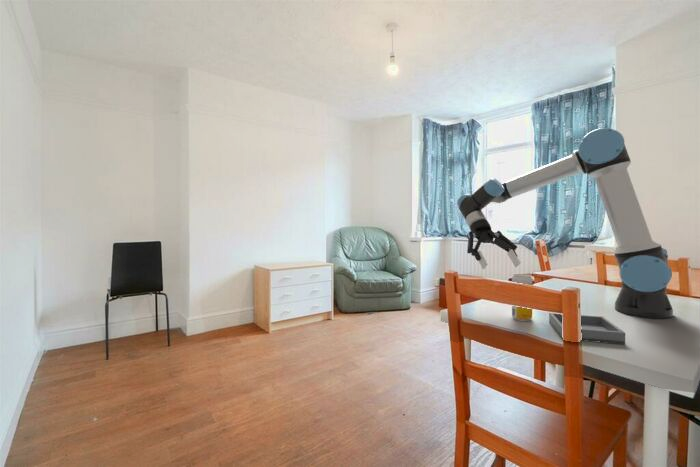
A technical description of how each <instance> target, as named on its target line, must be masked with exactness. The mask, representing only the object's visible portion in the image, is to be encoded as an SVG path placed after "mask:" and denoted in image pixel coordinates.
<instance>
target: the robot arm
mask: <svg viewBox="0 0 700 467" xmlns="http://www.w3.org/2000/svg"><path fill="white" fill-rule="evenodd" d="M631 163H632V161H631V158H630V156H629V153H628V149H627V147H626V144H625V137H624V135H623V134H622V133H621V132H619V131H618V130H615V129H613V128H609V127H602V128H601V127H600V128H597V129H594V130H592V131H590V132H588V133H586V135H584V136H583V138H581V140H580V142H579V144H578V149H576V150H574V151H573V152H572V153H571V154H570V155H569V156H566V157H563V158H561V159H558V160H556V161H553V162H551V163H549V164H546V165H544V166H541V167H539V168H536V169H534V170H532V171H529V172H526V173H524V174H521V175H519V176H517V177H514V178H511V179H509V180H506V181H504V182H502V183H501V181H499V180H498V179H496V178H493V177H492V178H490V179H489V180H487V181H485V182H484V184H482V185H481V186H480V187H479V188H477V190H476V191H475V192H473V193H472V194H470V193H465V194H464V195H461V196H459V198H458V199H457V201H456V202H457V207H458V209H459V211H460V213H461V215H462V217H463V218H464V220H465V222H466V224H467V226H468V228H469V230H470V231H469V232H468V234H467V240H468V242H467V250H466V252H467V254H471V256H472V257H474V258H475V259H476V261H478V262H479V265H480V268H482V269H483V270H485V269H486V267H487V266H488V262H487V261H486V259H485V256H484V255H483V253H482V251H481V250H479V249H480V247H481V244H482V243H483V244H486V243H487V244H492V245H496V246H497V247H498V248H500V249H502V250H503V251H505V252H507V253H506V254H507V256H508V257H509V259H510V261H511V262H512V264H513V265H514V267H515V268H518V266H519V265H520V264H521V261H520V259H519V257H518V254H517V252H516V250H517V249H518V245H516V244H515V242H514V243H513V241H512V240H510V239H509V238H508V237H506V236H505V235H503V233H502V232H501V231H500V230H497V231H496V232H494V231H493V230H492V227H491V224H490V223H489V221H488V219H487V218H486V216H485V214H484V212H483V211H482V210H483V209H484V208H486V207H487V206H488V205H489V204H491V203H497V204H501V203H505V202H506V201H508V200H509V199H512V198H514V197H518V196H520V195H522V194H526V193H528V192H532V191H533V190H537V189H540V188H543V187H546V186H547V185H551V184H553V183H556V182H558V181H561V180H564V179H566V178H567V179H568V178H569V177H572V176H576V175H578V174H582V175H586V174H587V176H588V177H591V178H593V179H594V180H595V183H596V186H597V187H596V188H597V190H598V193H599V195H600V198H601V201H602V204H603V206H604V210H605V213H606V215H607V218H608V221H609V225H610V227H611V231H612V234H613V237H614V239H615V242H616V245H617V247H616V249H615V250H614V251H613V253H614V257H615V260H616V262H617V263H616V264H617V265H618V269H619V277H620V279H621V289H620V291H619V293H618V296H616V300H615V302H614V309H615V310H616V311H617V312H620V313H623V314H627V315H630V316H635V317H641V318H651V319H671V318H673V316H674V309H673V306H672V304H671V302H670V300H669V297H668V294H667V286H668V284H669V283H670V282H671V280H672V278H673V273H672V272H673V271H672V269H671V267H670V266H669V264H668V258H669V255H668V250H667V249H666V248H664V247H662V245H661V243H658V242H657V241H654V240H653V239H652V235H651V233H650V230H649V228H648V224H647V222H646V219H645V215H644V213H643V211H642V210H643V209H642V207H641V205H640V202H639V200H638V196H637V194H636V190H635V188H634V185H633V182H632V180H631V177H630V174H629V172H628V168H629V166H630V165H631ZM474 238H475V239H476V240H477V241H476V244H475V246H474Z"/></svg>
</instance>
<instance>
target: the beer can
mask: <svg viewBox="0 0 700 467" xmlns="http://www.w3.org/2000/svg"><path fill="white" fill-rule="evenodd" d="M512 282H517V283H523V284H529V285H532V286H533V278H532V275H531V274H525V273H514V274H513V275H512V278H511V283H512ZM511 316H512V317H513V319H514V320H515V321H519V322H529V321H531V320H532V319H533V308H532V309H527V308H522V307H516V306H512V305H511Z"/></svg>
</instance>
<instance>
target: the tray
mask: <svg viewBox="0 0 700 467" xmlns="http://www.w3.org/2000/svg"><path fill="white" fill-rule="evenodd" d="M548 314H549V315H548V321H549V322H548V323H549V324H550V326H551V327H552V328H553V329H554V331H555V332H556V333H557V334H558V335H559V337H560V338H561V339H562V315H561V314H562V313H559V314H557V313H556V312H549V313H548ZM580 315H581V327H582V329H581V333H582V341H583V342H585V341H584V340H588V341H587V342H591V341H600V342H599V343H602V342H607V343H606V344H613V343H617V344H616V345H624V344H625V345H626V332H625V331H624V330H623V329H621V328H619V327H618V326H616V325H615V324H614V323H613V322H611V321H610V320H609V319H607V318H605V317H604V316H600V315H585V314H580Z"/></svg>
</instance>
